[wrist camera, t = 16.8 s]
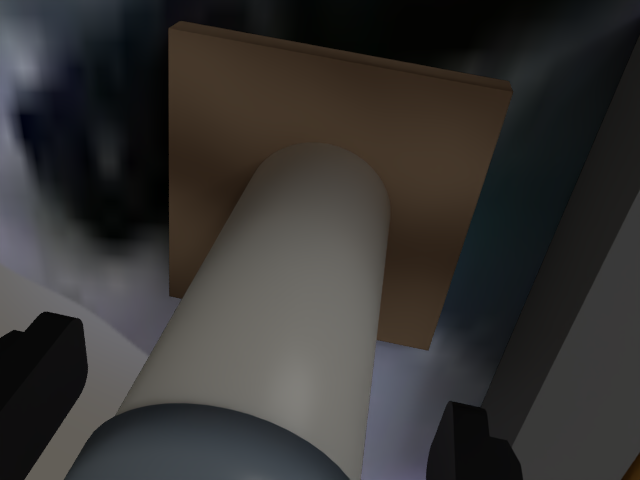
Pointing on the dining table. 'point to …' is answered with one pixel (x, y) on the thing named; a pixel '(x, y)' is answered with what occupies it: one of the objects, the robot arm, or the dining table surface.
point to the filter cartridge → (265, 338)
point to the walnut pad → (339, 130)
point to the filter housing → (582, 321)
